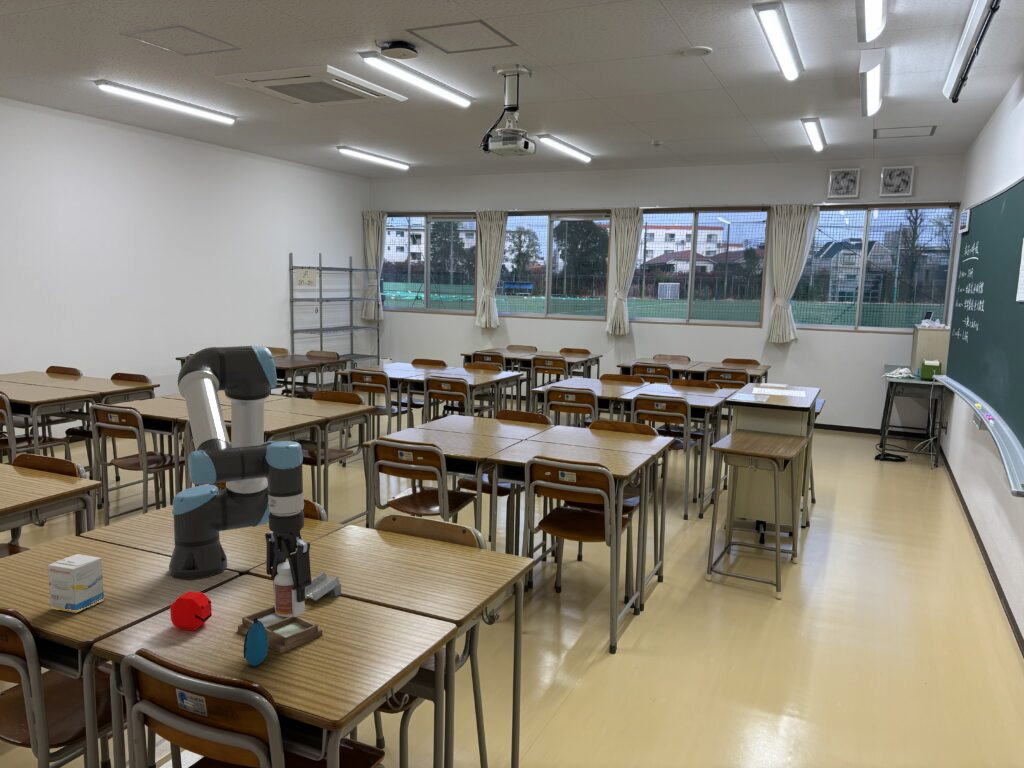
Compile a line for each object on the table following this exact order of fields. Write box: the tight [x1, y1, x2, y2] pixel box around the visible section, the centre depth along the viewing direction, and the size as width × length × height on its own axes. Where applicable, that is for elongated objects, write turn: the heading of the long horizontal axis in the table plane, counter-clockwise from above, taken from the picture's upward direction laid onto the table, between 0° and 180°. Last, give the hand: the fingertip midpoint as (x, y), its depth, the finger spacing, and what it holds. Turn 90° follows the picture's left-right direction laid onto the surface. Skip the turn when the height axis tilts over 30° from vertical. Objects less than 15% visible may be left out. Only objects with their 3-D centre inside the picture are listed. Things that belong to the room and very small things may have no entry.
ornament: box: [243, 618, 269, 667], centre depth 151 cm, size 8×5×10 cm, turn 5°
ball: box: [169, 591, 213, 631], centre depth 168 cm, size 8×8×8 cm
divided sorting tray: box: [237, 605, 323, 654], centre depth 165 cm, size 17×11×3 cm, turn 52°
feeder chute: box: [305, 571, 342, 601], centre depth 185 cm, size 6×8×5 cm
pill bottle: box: [274, 561, 299, 617], centre depth 162 cm, size 6×6×11 cm
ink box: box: [47, 553, 105, 610], centre depth 179 cm, size 9×8×12 cm
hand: (289, 610), depth 162 cm, fingers closed on pill bottle, 6 cm apart
